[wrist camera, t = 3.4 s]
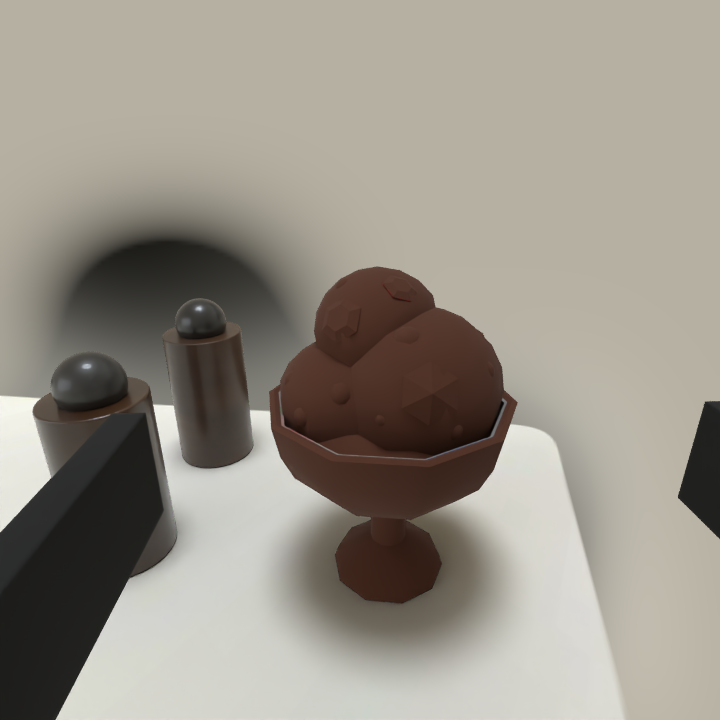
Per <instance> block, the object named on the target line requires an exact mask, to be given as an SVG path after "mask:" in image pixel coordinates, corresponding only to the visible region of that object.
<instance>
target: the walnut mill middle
mask: <svg viewBox="0 0 720 720" xmlns="http://www.w3.org/2000/svg"><path fill="white" fill-rule="evenodd" d="M112 413H146V417H147V422H148V428H149V433H150V438H151V444H152V449H153V454H154V459H155V465H156V470H157V475H158V481H159V486H160V491H161V496H162V502H163V507H164V512H163V514H162V516H161V518H160V520H159V521H158V523H157V525H156V527H155V529H154V531H153V533H152V535H151V537H150V539H149V541H148V543H147V545H146V547H145V548H144V550H143V552H142V554H141V556H140V558H139V560H138V562H137V564H136V566H135V568H134V570H133V572H132V573H131V575H130V576H133V575H136V574H138V573H140V572H143V571H145V570H147V569H148V568H150V567H152V566H153V565H155V564H156V563H158V562H159V561H160V560H161V559H162V558H164V557H165V556H166V554H167V553H168V552H169V551H170V550H171V548H172V547H173V545H174V543H175V540H176V536H177V529H176V523H175V518H174V513H173V508H172V502H171V497H170V492H169V486H168V481H167V476H166V471H165V465H164V460H163V455H162V450H161V444H160V439H159V434H158V428H157V423H156V418H155V413H154V407H153V402H152V397H151V391H150V387H149V386H148V384H147V383H146V382H144V381H142V380H140V379H137V378H132V377H127V375H126V373H125V370H124V369H123V367H122V366H121V365H120V364H119V363H118V362H117V361H116V360H115V359H114V358H112V357H110V356H108V355H106V354H102V353H99V352H82V353H78V354H75V355H72V356H70V357H68V358H67V359H65V360H64V361H63V362H62V363H61V364H60V365H59V366H58V367H57V369H56V370H55V372H54V374H53V377H52V380H51V393H49V394H47V395H46V396H44V397H43V398H41V399H40V400H39V401H38V402H37V403H36V404H35V406H34V407H33V417H34V420H35V423H36V427H37V430H38V434H39V437H40V440H41V444H42V447H43V451H44V454H45V457H46V461H47V464H48V468H49V471H50V474H51V478H52V477H53V476H54V475H55V474H56V473H57V472H58V470H59V469H60V468H61V467H62V466H63V465H64V464H65V463H66V462H67V461H68V460H69V459H70V458H71V457H72V456H73V454H74V453H75V452H76V451H77V450H78V449H79V448H80V447H81V446H82V445H83V444H84V443H85V442H86V441H87V439H88V438H89V437H90V436H91V435H92V434H93V433H94V432H95V431H96V430H97V429H98V428H99V427H100V426H101V425H102V423H103V422H104V421H105V420H106V419H107V418H108V417H109V416H110V415H111V414H112Z"/></svg>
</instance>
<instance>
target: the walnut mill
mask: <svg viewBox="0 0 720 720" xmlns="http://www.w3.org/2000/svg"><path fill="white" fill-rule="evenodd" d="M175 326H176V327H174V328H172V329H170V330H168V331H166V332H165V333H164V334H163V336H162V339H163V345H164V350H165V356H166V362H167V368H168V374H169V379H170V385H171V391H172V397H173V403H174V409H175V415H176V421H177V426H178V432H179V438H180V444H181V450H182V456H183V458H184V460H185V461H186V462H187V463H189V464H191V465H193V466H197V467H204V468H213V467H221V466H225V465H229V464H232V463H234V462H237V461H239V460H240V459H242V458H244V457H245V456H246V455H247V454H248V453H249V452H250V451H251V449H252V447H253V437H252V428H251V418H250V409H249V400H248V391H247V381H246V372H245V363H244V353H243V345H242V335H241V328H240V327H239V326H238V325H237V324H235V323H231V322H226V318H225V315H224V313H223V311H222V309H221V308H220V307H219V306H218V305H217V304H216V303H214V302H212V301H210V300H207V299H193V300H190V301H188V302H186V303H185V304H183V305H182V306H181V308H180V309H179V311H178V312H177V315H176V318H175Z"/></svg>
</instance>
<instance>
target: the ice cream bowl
mask: <svg viewBox="0 0 720 720" xmlns="http://www.w3.org/2000/svg"><path fill="white" fill-rule="evenodd" d="M314 333H315V337H316V342H314V343H313V344H311V345H309V346H308V347H306V348H305V349H303V350H302V351H301V352H300V353H299V354H298V355H297V356H296V357H295V358H294V359H293V360H292V361H291V362H290V363H289V364H288V366H287V368H286V370H285V372H284V374H283V376H282V378H281V380H280V383H281V384H280V385H279V386H277V387H276V388H274V389H273V390H271V391H270V392H269V394H270V415H271V429H272V432H273V436H274V439H275V442H276V445H277V448H278V451H279V454H280V457H281V459H282V460H283V462H284V463H285V465H286V466H287V468H288V469H289V470H290V472H291V473H292V475H293V476H294V478H295V479H297V480H299V481H300V482H302V483H304V484H305V485H307V486H308V487H310V488H312V489H313V490H315V491H316V492H318V493H320V494H321V495H323V496H325V497H326V498H328V499H329V500H331V501H333V502H334V503H336V504H337V505H339V506H341V507H342V508H344V509H346V510H347V511H349V512H351V513H352V514H354V515H356V516H367V517H371V520H370V521H367V522H365V523H362V524H360V525H357V526H354V527H352V528H351V529H350V530H349V532H348V533H347V535H346V536H345V538H344V539H343V541H342V542H341V543H340V545H339V546H338V548H337V551H336V554H335V557H336V562H337V567H338V572H339V577H340V581H342V582H343V583H344V584H345V585H347V586H348V587H349V588H351V589H352V590H353V591H355V592H356V593H357V594H359V595H360V596H361V597H363V598H364V599H365V600H372V601H383V602H394V603H404V602H406V601H408V600H410V599H412V598H414V597H416V596H418V595H420V594H422V593H424V592H426V591H428V590H430V589H432V587H433V585H434V582H435V580H436V577H437V575H438V572H439V570H440V567H441V565H442V563H441V560H440V557H439V554H438V552H437V550H436V548H435V546H434V543H433V541H432V539H431V537H430V535H429V533H427V532H425V531H424V530H422V529H420V528H418V527H417V526H415V525H413V524H411V523H410V522H408V521H406V519H408V520H411V519H414V518H416V517H418V516H421V515H423V514H426V513H428V512H431V511H433V510H436V509H438V508H441V507H443V506H446V505H448V504H450V503H453V502H455V501H457V500H459V499H461V498H463V497H465V496H467V495H469V494H471V493H473V492H476V491H478V490H479V489H480V488H481V486H482V485H483V484H484V482H485V481H486V480H487V478H488V477H489V476H490V474H491V473H492V472H493V470H494V468H495V465H496V462H497V459H498V457H499V454H500V451H501V448H502V445H503V443H504V440H505V437H506V434H507V432H508V429H509V426H510V423H511V420H512V417H513V414H514V411H515V409H516V406H517V402H516V401H515V400H514V399H513V398H512V397H511V396H510V395H509V394H508V393H506V391H504V388H503V374H502V366H501V364H500V362H499V360H498V358H497V356H496V353H495V351H494V349H493V347H492V345H491V344H490V343H489V342H488V341H487V340H486V339H485V337H484V335H483V333H481V332H480V331H478V330H477V329H475V327H474V326H472V325H471V324H470V323H469V322H468V321H466V320H465V319H464V318H463V317H461V316H458V315H456V314H454V313H451V312H449V311H446V310H444V309H440V308H436V307H435V303H434V298H433V295H432V294H431V293H430V292H429V291H428V290H427V289H426V287H425V286H424V285H423V284H422V283H421V282H420V281H419V280H417V279H415V278H413V277H412V276H410V275H408V274H406V273H404V272H402V271H400V270H395V269H389V268H383V267H373V268H366V269H362V270H358V271H355V272H353V273H351V274H349V275H347V276H346V277H343V278H341V279H340V280H339V281H338V282H337V283H336V284H335V285H334V286H333V287H332V288H331V289H330V290H329V291H328V292H327V293H326V294H325V296H324V298H323V300H322V302H321V304H320V306H319V308H318V310H317V313H316V321H315V329H314Z"/></svg>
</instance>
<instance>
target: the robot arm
mask: <svg viewBox="0 0 720 720" xmlns="http://www.w3.org/2000/svg"><path fill="white" fill-rule="evenodd" d="M678 498H679V499H680V500H681V501H682V502H683V503H684V504H685V505H686V506H687V507H688V508H689V509H690V510H691V511H692V512H693V513H694V514H695V515H696V516H697V517H698V518H699V519H700V520H701V521H702V522H703V523H704V524H705V525H706V526H707V527H708V528H709V529H710V530H711V531H712V532H713V533H714V534H715V535H716V536H717V537H719V539H720V401H712V402H711V401H710V402H705V404H704V408H703V411H702V414H701V418H700V421H699V425H698V428H697V432H696V436H695V439H694V442H693V446H692V449H691V453H690V456H689V460H688V463H687V467H686V470H685V474H684V477H683V481H682V484H681V488H680V491H679V495H678ZM163 512H164V507H163V502H162V496H161V491H160V486H159V481H158V475H157V470H156V465H155V459H154V454H153V449H152V444H151V438H150V433H149V428H148V422H147V417H146V413H112V414H111V415H110V416H109V417H108V418H107V419H106V420H105V421H104V422H103V423H102V425H101V426H100V427H99V428H98V429H97V430H96V431H95V432H94V433H93V434H92V435H91V436H90V437H89V438H88V439H87V441H86V442H85V443H84V444H83V445H82V446H81V447H80V448H79V449H78V450H77V451H76V452H75V453H74V454H73V456H72V457H71V458H70V459H69V460H68V461H67V462H66V463H65V464H64V465H63V466H62V467H61V468H60V469H59V470H58V472H57V473H56V474H55V475H54V476H53V477H52V478H51V479H50V480H49V481H48V482H47V483H46V484H45V485H44V486H43V488H42V489H41V490H40V491H39V492H38V493H37V494H36V495H35V496H34V497H33V498H32V499H31V500H30V501H29V503H28V504H27V505H26V506H25V507H24V508H23V509H22V510H21V511H20V512H19V513H18V514H17V515H16V516H15V517H14V519H13V520H12V521H11V522H10V523H9V524H8V525H7V526H6V527H5V528H4V529H3V530H2V531H1V532H0V720H56V718H57V716H58V714H59V712H60V710H61V708H62V706H63V704H64V702H65V700H66V699H67V697H68V695H69V693H70V691H71V689H72V687H73V685H74V683H75V681H76V679H77V677H78V675H79V674H80V672H81V670H82V668H83V666H84V664H85V662H86V660H87V658H88V656H89V654H90V652H91V650H92V649H93V647H94V645H95V643H96V641H97V639H98V637H99V635H100V633H101V631H102V629H103V627H104V625H105V624H106V622H107V620H108V618H109V616H110V614H111V612H112V610H113V608H114V606H115V604H116V602H117V600H118V598H119V597H120V595H121V593H122V591H123V589H124V587H125V585H126V583H127V581H128V579H129V577H130V575H131V573H132V572H133V570H134V568H135V566H136V564H137V562H138V560H139V558H140V556H141V554H142V552H143V550H144V548H145V547H146V545H147V543H148V541H149V539H150V537H151V535H152V533H153V531H154V529H155V527H156V525H157V523H158V521H159V520H160V518H161V516H162V514H163Z"/></svg>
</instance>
